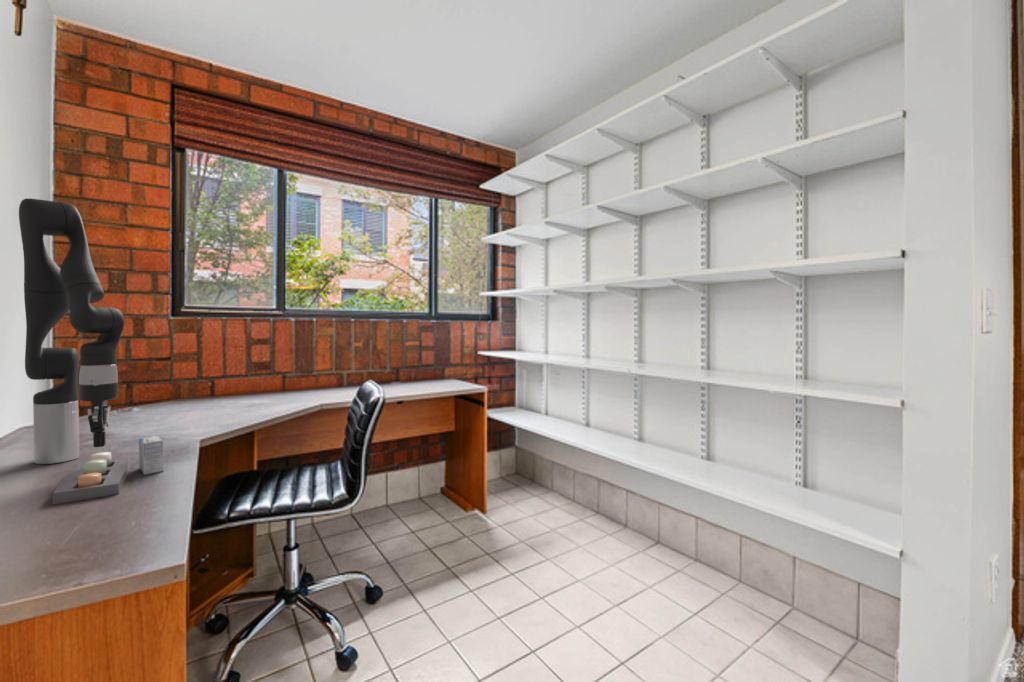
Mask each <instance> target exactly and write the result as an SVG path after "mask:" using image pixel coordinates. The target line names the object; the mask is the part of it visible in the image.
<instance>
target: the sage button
mask: <svg viewBox="0 0 1024 682" xmlns="http://www.w3.org/2000/svg"><path fill="white" fill-rule="evenodd" d="M84 464H85V474H89V473H101V474H104V473H106V472H107V461H106V460H104V459H101V460H93V461H91V460H89V461H87V462H84Z"/></svg>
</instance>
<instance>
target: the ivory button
mask: <svg viewBox="0 0 1024 682" xmlns="http://www.w3.org/2000/svg"><path fill="white" fill-rule="evenodd" d="M101 459H104V460H106V461H107V466H108V465H111V461H112V452H111V451H104V452H96V453H92V454H90V461H93V460H101Z"/></svg>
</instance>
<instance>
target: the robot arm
mask: <svg viewBox="0 0 1024 682" xmlns="http://www.w3.org/2000/svg"><path fill="white" fill-rule="evenodd" d="M18 220H19V221H18V222H19V228H20V236H21V242H22V252H23V266H24V267H23V269H24V271H23V274H24V275H23V293H24V297H23V298H24V299H23V300H24V309H25V322H26V329H25V330H26V331H25V333H26V335H25V349H24V350H25V353H24V354H25V355H24V371H25V375H26V377H27V378H28V379H30V380H35V381H36V380H38V381H39V380H40V381H41V380H42V381H43V380H60V379H63V380H62V382H61V383H60V384H58V385H56V386H54V387H52V388H49V389H46V390H42V391H39V392H37V393H35V394H34V395H33V396H32V398H33V399H32V401H33V402H32V403H33V405H32V408H33V409H32V411H33V414H32V415H33V458H34V461H33V462H34V464H36V465H50V464H57V463H65V462H69V461H72V460H75V459H79V457H80V416H79V412H80V411H79V409H80V408H79V400H80V401H81V402H90V406H89V407H88V408H87V415H88V416H87V420H88V423H89V429H90V433H92V434H93V436H92V437H93V444H92V445H93V448H102V447H104V446H106V443H107V442H106V441H107V440H106V437H107V435H106V434H107V433H106V432H107V430H108V427H109V422H110V411H111V405H110V404H108V401H110V400H115V399H117V398H118V397H119V374H118V367H117V349H118V347H119V343H120V339H121V337H122V333H123V331H124V328H125V321H126V320H125V317H124V314H123V312H121V310H120V309H118V308H115V307H112V306H111V307H110V306H93V305H91V304H95V303H98V302H100V301H102V300H103V299H104V298H105V295H106V294H105V291H104V288H103V286H102V283H101V281H100V279H99V277H98V275H97V272H96V270H95V267H94V264H93V261H92V257H91V252H90V248H89V247H90V246H89V243H88V238H87V234H86V230H85V226H84V222H83V218H82V217H81V213H80V212H79V210H78V209H77V207H76V206H75V205H73V204H71V203H67V202H61V201H56V200H55V201H54V200H46V199H37V198H24V199H22V200H21V201H20V204H19V206H18ZM44 236H51V237H54V236H55V237H66V238H67V240H68V242H69V249H68V251H67V254H66V255H65V257H64V259H63V261H62V263H61V266H60V267H59V265H58V264H57V263H56V262H55V261H54V260H53V259H52V257H51V256H50V254H49V253H48V251H47V249H46V246H45V241H44ZM68 312H69V317H68V318H69V319H68V320H69V324H70V325H71V327H72V328H73V329H74V330H75V331H76V332H79V333H82V334H99V335H98V337H97V338H96V340H93V341H90V342H85V343H83V344H82V345H80V349H79V352H78V350H77V349H76V348H75V347H42V346H43V343H44V341H45V339H46V338H47V335H48V334H49V333H50V332H51V330H52V329H53V328H54V327H55V326H56V325H57V324H58V323H59V322H60V321H61V320H62V319H63V318H64V317H65V316H66V314H68Z"/></svg>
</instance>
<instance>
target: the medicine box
mask: <svg viewBox="0 0 1024 682" xmlns="http://www.w3.org/2000/svg"><path fill="white" fill-rule="evenodd" d="M138 453H139V454H138V455H139V456H138V458H139V460H138V461H139V463H138V465H139V470H140V471H141V472H142V473H143V475H151V474H156V473H161V472H164V470H165V463H164V460H165V459H164V458H165V457H164V456H165V455H164V441H163V439H161V438H160V436H158V435H153V436H146V437H142V438H138Z"/></svg>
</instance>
